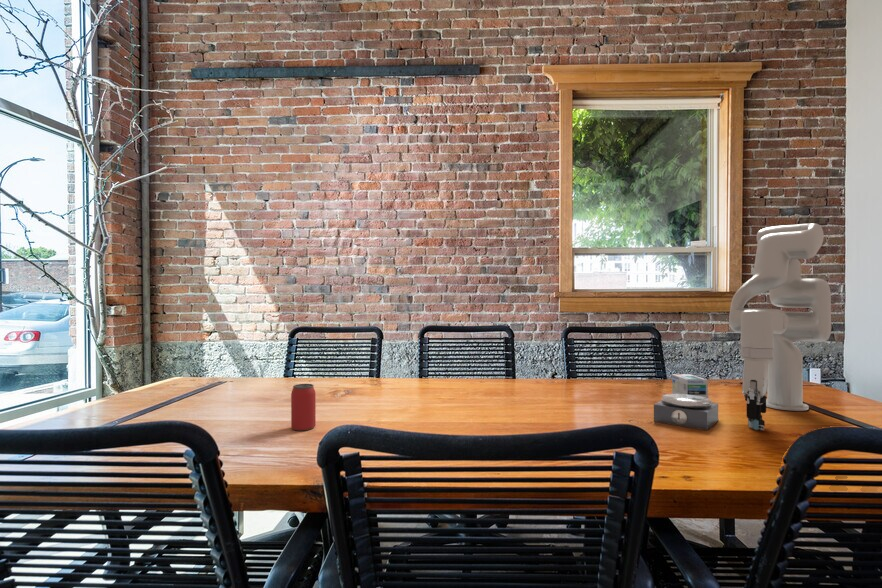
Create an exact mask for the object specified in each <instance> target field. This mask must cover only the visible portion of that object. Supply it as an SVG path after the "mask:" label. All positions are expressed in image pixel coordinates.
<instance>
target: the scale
mask: <svg viewBox="0 0 882 588" xmlns="http://www.w3.org/2000/svg"><path fill="white" fill-rule="evenodd" d="M718 421H719V403H718V402H712V401H711V406H710V407H705V408H689V407H680V406H674V405H670V404H667V403H664V402H663V401H662V399H661V400H659V401H657V402H656V403H654V404H653V422H655V423H656V422H657V423H661V424H667V425H673V426H678V427H679V426H680V427H685V428H690V429H697V430H703V431H709V430H710V428H711V427H713V425H715V424H716V423H717V422H718Z"/></svg>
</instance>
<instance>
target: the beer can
mask: <svg viewBox="0 0 882 588" xmlns="http://www.w3.org/2000/svg"><path fill="white" fill-rule="evenodd" d="M290 396H291V397H290V402H291V403H290V406H291V407H290V410H291V411H290V416H291V417H290V422H291V423H290V425H291V426H290V427H291V429H292V430H294V431H295V432H296V431H299V432H304V431H309V430H313V429H314V428H315V427H316V423H317V422H316V419H317V418H316V414H317V413H316V407H317V405H316V390H315V388H314V384H312V383H299V384H294V385H293V386H292V390H291V394H290Z"/></svg>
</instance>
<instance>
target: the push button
mask: <svg viewBox="0 0 882 588" xmlns="http://www.w3.org/2000/svg"><path fill="white" fill-rule="evenodd" d="M743 396H744V400H745V402H747V397H748V393H747V394H746V395H744V394H743ZM766 399H767V396H762V397H760V405H761V404H763V403H765V402H766ZM747 422H748V423H747V426H748V428H751V429H753V430H755V431H765V429H764V428H765V426H766V425H765V424H766V422H765V420H763V415H762V414H761V419H760V420H757V419H750V418H747Z"/></svg>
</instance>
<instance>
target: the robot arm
mask: <svg viewBox="0 0 882 588" xmlns="http://www.w3.org/2000/svg"><path fill="white" fill-rule="evenodd" d="M824 238H825V237H824V230H823V228H822V226H821V225H820V224H818V223H815V222H813V223H811V222H808V223H799V224H797V223H796V224H785V225H774V226H767V227H764V228H762V229H760V230H758V232H757V233H756V242H757V244H756V245H757V246H756V251H755V257H754V258H755V259H754V266H753V273H752V277H750V278H749V279H748V280H746V281H745V282H744V283H742V285H741V286H740V287H739V288H738V289H737V290H736V292H735V293H734V294H733V296H732V299H731V303H730V309H729V315H728V316H729V317H728V325H729V328H730V329H731V331H733V332H734V333H737V334H740V359H741V360H743V370H742V387H741V388H742V389H741V391H742V394H743V396H744V395H746V394H748V397H747V401H746V418H747V419H748V418H750V419H757V420H760V419H761V415H762V414H766V413H767V408H771V409H776V410H783V411H792V412H804V411H805V412H806V411H808V410H809V409H810V408H809V405H808V404H807V403H803V402H804V401H803V397H804V395H803V393H804V391H803V390H804V389H803V388H804V387H803V385H804V384H803V382H804V381H803V377H804V376H803V372H804V371H803V370H804V369H803V368H804V367H803V361H804V359H803V353H802V351H801V350H800V349H799V347H798V346H797V345H796V344H795V343H794V342H809V343H810V342H811V343H823V342H827V341H828V340H829V339H830V338H831V333H832V305H831V304H832V299H831V298H832V296H831V295H832V294H831V288H830V285H829V283H828V281H826V280H825V279H822V278H817V277H816V278H815V277H813V278H806V277H805V278H803V277H802V274H801V273H802V270H801V268H802V267H801V262H800V260H808V259H809V260H810V259H812V258H814V257H815V256H816V255H817V253H818V252H819V250H820V249H821V247H822V246H823V242H824ZM766 292H768V293H769V294H768V295H769V296H768V297H769V301H770V303H771V305H773V306H775V307H778V309H777V308H761V307H759V308H758V307H757V308H756V307H750V308H749V307H745V306H746V303H747V302H749V300H751V299H752V298H754V297H756V296H758V295H762V294H764V293H766ZM779 307H780V308H795V309H797V308H798V309H799V308H801V309H803V308H804V309H805V308H806V309H807V308H808V309H810V310H812V311H811V312H810V311H809V312H808V311H783V310H782V309H779ZM766 395H767V396H766ZM762 396H766V397H767V399H766V402H765V403H763V404H761V405H760V397H762Z"/></svg>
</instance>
